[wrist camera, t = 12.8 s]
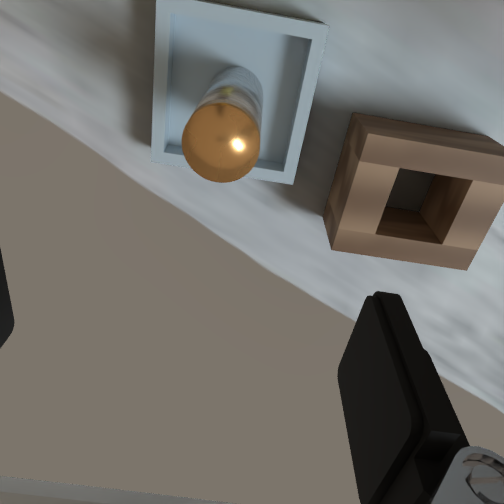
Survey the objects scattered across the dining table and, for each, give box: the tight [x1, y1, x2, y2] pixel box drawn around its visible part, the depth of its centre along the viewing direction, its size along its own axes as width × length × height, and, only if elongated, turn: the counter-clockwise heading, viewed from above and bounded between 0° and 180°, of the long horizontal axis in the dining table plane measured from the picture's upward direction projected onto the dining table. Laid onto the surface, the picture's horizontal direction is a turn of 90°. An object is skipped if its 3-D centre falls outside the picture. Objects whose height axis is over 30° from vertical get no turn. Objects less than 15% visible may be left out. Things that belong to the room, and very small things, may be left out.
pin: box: [182, 66, 263, 183], centre depth 28 cm, size 4×4×12 cm
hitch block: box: [323, 113, 504, 270], centre depth 35 cm, size 10×12×6 cm
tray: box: [151, 0, 330, 185], centre depth 33 cm, size 12×12×3 cm
